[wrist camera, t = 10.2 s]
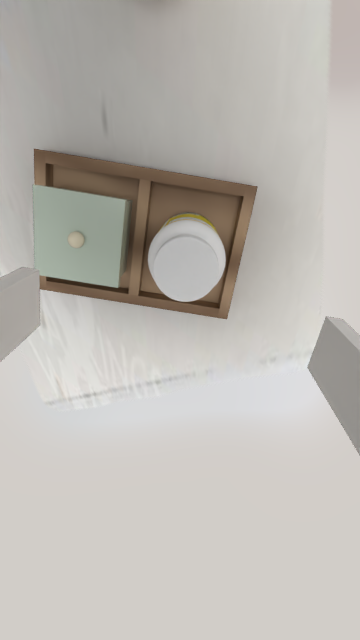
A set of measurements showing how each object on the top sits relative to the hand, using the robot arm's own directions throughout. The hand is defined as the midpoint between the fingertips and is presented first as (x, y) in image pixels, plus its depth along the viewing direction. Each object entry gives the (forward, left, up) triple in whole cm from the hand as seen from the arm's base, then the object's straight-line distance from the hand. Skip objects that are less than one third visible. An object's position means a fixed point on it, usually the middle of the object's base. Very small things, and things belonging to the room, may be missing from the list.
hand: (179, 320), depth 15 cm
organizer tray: (0, -5, -20) cm, 21 cm away
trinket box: (0, -10, -20) cm, 22 cm away
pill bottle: (0, 0, -20) cm, 20 cm away
